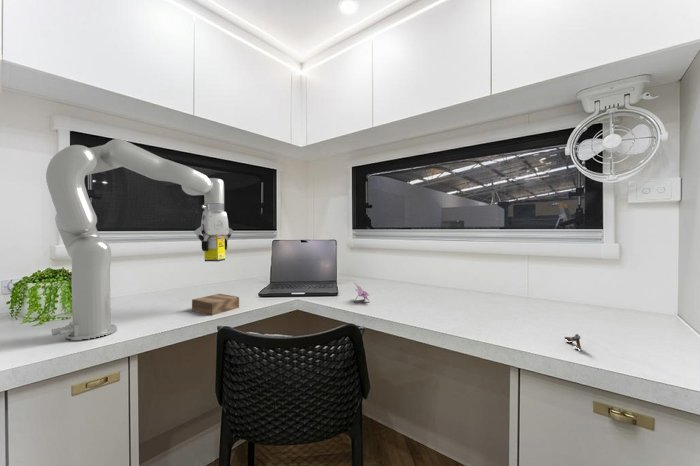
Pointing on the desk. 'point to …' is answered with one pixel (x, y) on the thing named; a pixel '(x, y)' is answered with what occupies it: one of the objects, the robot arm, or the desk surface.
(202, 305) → the walnut block
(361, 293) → the lily
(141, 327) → the desk surface
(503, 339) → the desk surface
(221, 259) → the supplement box
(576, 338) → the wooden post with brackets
